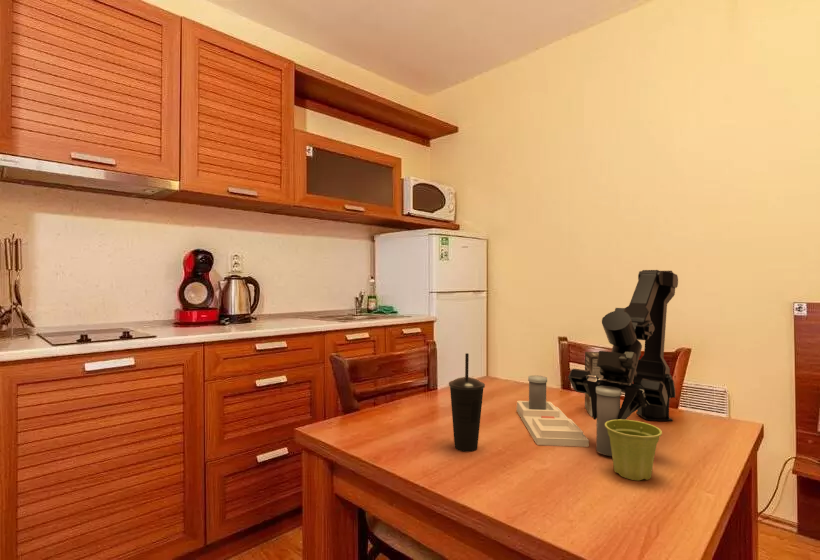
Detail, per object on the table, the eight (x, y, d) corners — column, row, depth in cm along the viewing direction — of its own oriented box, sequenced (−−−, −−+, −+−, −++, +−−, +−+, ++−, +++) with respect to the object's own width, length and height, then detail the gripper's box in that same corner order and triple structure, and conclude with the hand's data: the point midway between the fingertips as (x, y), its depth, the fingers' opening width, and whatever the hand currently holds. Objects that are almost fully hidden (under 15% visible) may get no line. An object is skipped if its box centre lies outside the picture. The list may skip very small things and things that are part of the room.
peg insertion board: (557, 412, 118) (557, 373, 118) (588, 446, 93) (589, 398, 93) (516, 411, 119) (516, 372, 119) (536, 444, 94) (537, 396, 94)
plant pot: (660, 491, 74) (660, 439, 74) (600, 477, 79) (601, 429, 79) (662, 471, 82) (662, 424, 82) (608, 459, 87) (608, 416, 87)
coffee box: (583, 407, 124) (584, 351, 124) (607, 408, 122) (608, 352, 122) (590, 417, 115) (590, 356, 115) (616, 418, 113) (616, 357, 114)
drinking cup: (486, 443, 95) (487, 352, 95) (480, 456, 87) (481, 357, 88) (452, 439, 97) (453, 349, 97) (444, 451, 90) (445, 355, 90)
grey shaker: (615, 447, 92) (615, 386, 92) (624, 456, 87) (625, 391, 87) (591, 446, 92) (592, 385, 92) (600, 455, 87) (600, 391, 87)
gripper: (571, 332, 99) (550, 390, 90) (664, 341, 86) (648, 408, 78) (584, 362, 104) (565, 419, 96) (673, 374, 92) (660, 440, 84)
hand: (605, 421), depth 88 cm, fingers closed on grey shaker, 4 cm apart
